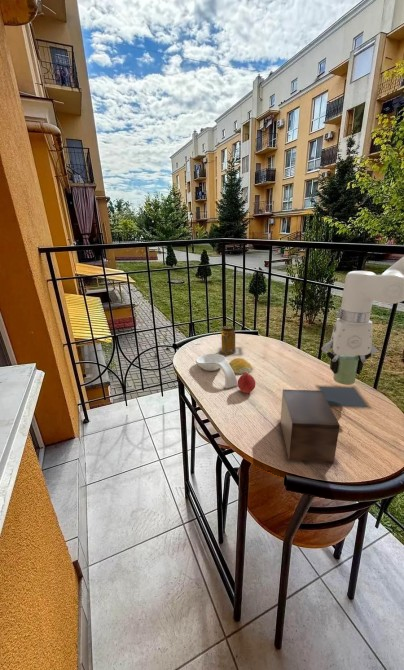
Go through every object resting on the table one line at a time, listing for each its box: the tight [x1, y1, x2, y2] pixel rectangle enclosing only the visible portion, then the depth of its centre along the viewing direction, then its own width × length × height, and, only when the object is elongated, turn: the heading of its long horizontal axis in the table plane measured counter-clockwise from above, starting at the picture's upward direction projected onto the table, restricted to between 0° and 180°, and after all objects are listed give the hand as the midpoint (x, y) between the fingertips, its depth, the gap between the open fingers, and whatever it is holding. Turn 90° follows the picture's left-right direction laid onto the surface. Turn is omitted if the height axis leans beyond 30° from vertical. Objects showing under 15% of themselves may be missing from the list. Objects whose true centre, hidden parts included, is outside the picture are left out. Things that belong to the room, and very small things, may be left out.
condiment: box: [221, 325, 236, 355], centre depth 123 cm, size 7×8×12 cm
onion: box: [237, 372, 256, 394], centre depth 92 cm, size 6×6×8 cm
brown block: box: [279, 389, 341, 464], centre depth 69 cm, size 10×14×11 cm
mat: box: [319, 386, 368, 408], centre depth 89 cm, size 11×11×1 cm
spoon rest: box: [195, 353, 238, 389], centre depth 106 cm, size 24×12×7 cm, turn 24°
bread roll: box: [228, 357, 252, 375], centre depth 109 cm, size 8×9×4 cm
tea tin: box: [332, 355, 359, 386], centre depth 85 cm, size 6×6×8 cm
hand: (345, 371), depth 86 cm, fingers closed on tea tin, 6 cm apart
